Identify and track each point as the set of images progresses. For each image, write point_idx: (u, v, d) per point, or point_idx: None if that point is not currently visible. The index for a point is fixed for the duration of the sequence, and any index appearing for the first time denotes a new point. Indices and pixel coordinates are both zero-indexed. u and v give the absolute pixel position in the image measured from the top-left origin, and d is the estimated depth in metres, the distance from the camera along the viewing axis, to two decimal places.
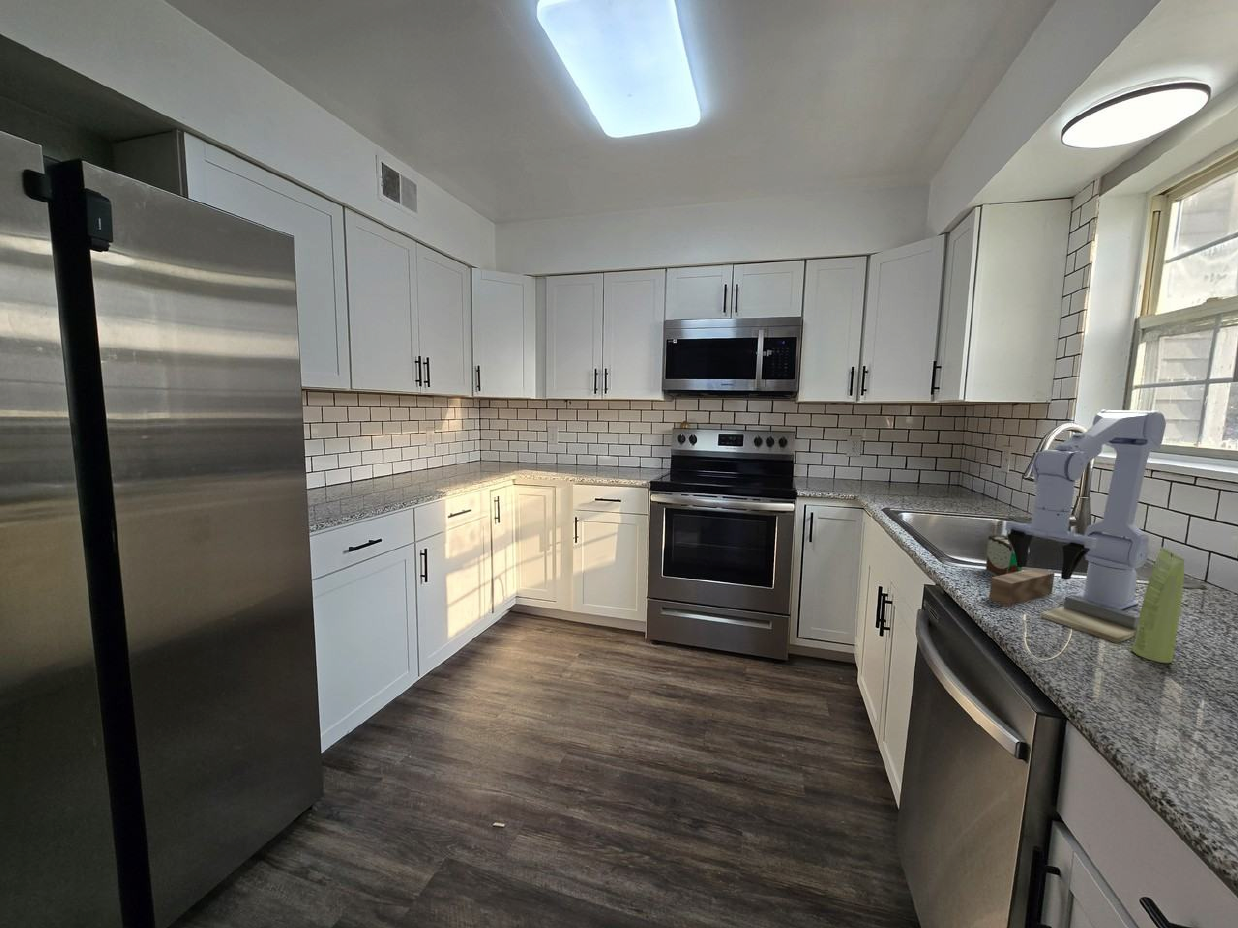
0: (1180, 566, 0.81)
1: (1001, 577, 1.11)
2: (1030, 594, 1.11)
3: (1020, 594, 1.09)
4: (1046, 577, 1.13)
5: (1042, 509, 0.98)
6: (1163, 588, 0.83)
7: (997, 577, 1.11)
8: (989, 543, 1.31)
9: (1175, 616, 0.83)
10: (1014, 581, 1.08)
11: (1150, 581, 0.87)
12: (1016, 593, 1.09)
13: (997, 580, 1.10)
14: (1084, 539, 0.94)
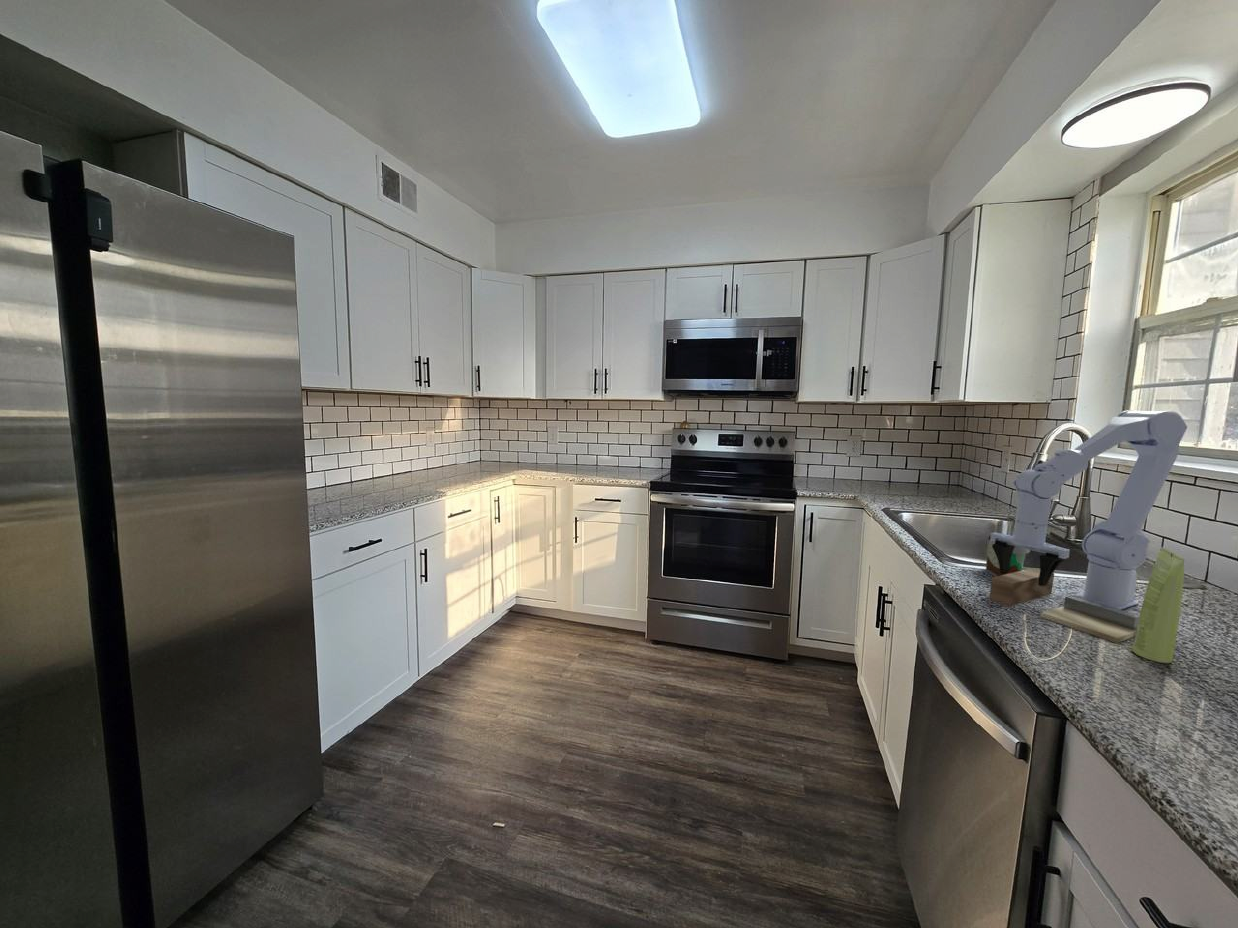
0: (1180, 566, 0.81)
1: (1001, 577, 1.11)
2: (1030, 594, 1.11)
3: (1020, 594, 1.09)
4: None
5: (1022, 523, 1.10)
6: (1163, 588, 0.83)
7: (997, 577, 1.11)
8: (989, 543, 1.31)
9: (1175, 616, 0.83)
10: (1014, 581, 1.08)
11: (1150, 581, 0.87)
12: (1016, 593, 1.08)
13: (997, 580, 1.10)
14: (1058, 550, 1.06)
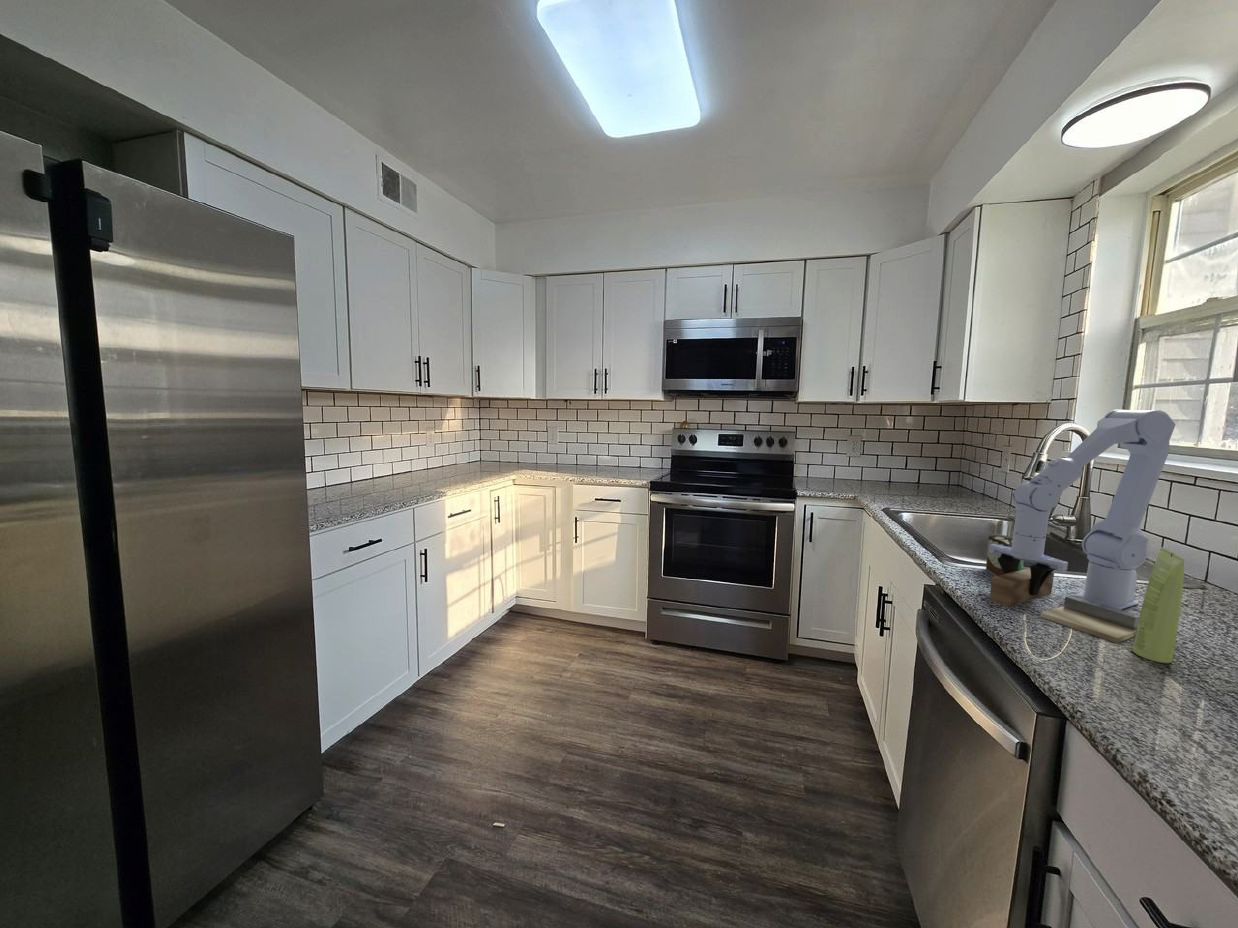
0: (1180, 566, 0.81)
1: (1002, 576, 1.11)
2: None
3: (1020, 593, 1.09)
4: None
5: (1020, 535, 1.11)
6: (1163, 588, 0.83)
7: (997, 577, 1.11)
8: (989, 543, 1.31)
9: (1175, 616, 0.83)
10: (1015, 580, 1.08)
11: (1150, 581, 0.87)
12: (1017, 592, 1.08)
13: (998, 579, 1.10)
14: (1056, 563, 1.06)
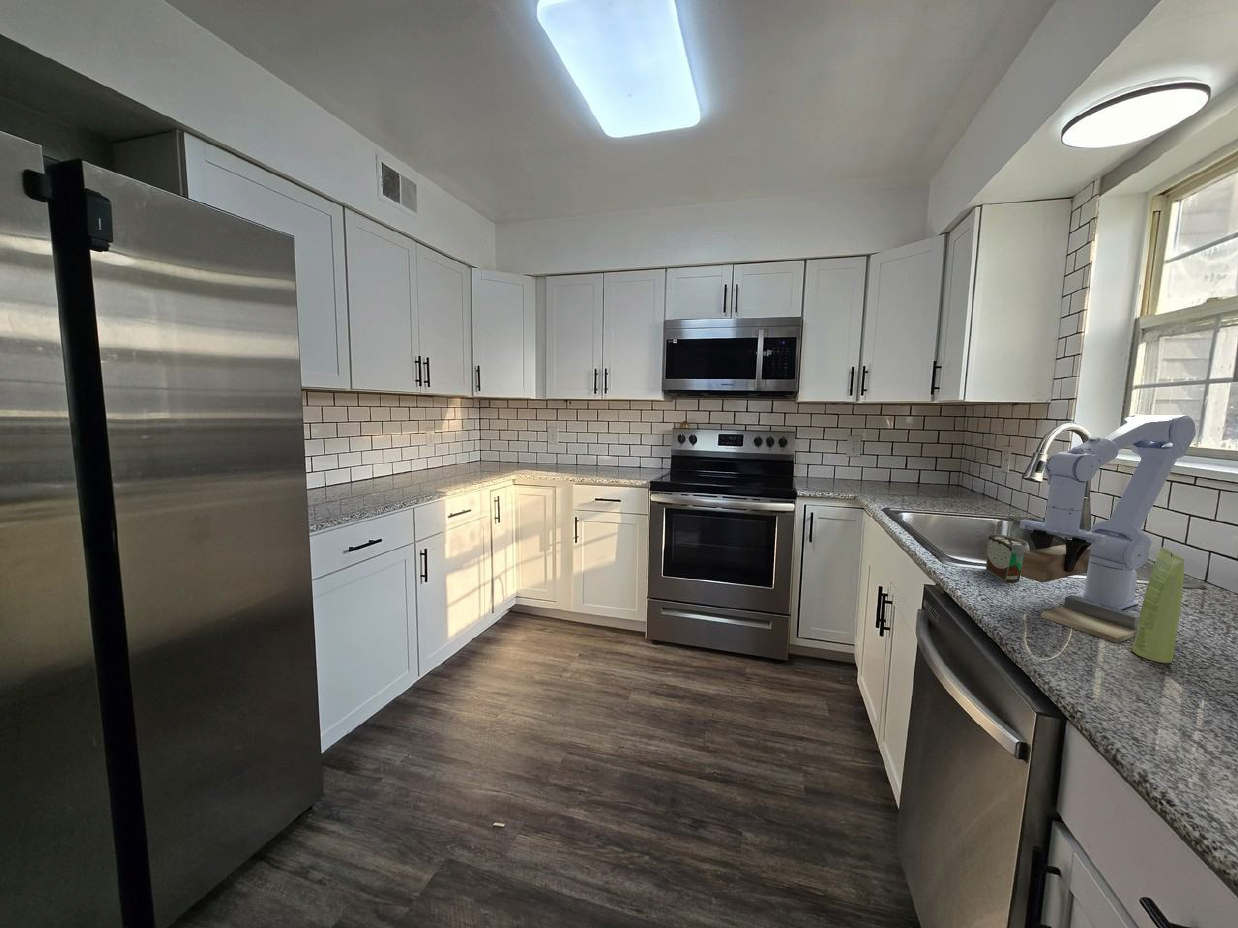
0: (1180, 566, 0.81)
1: (1034, 552, 1.05)
2: None
3: (1054, 569, 1.03)
4: None
5: (1055, 508, 1.05)
6: (1163, 588, 0.83)
7: (1029, 552, 1.05)
8: (989, 543, 1.31)
9: (1175, 616, 0.83)
10: (1048, 555, 1.03)
11: (1150, 581, 0.87)
12: (1051, 568, 1.03)
13: (1030, 554, 1.04)
14: (1095, 536, 1.00)
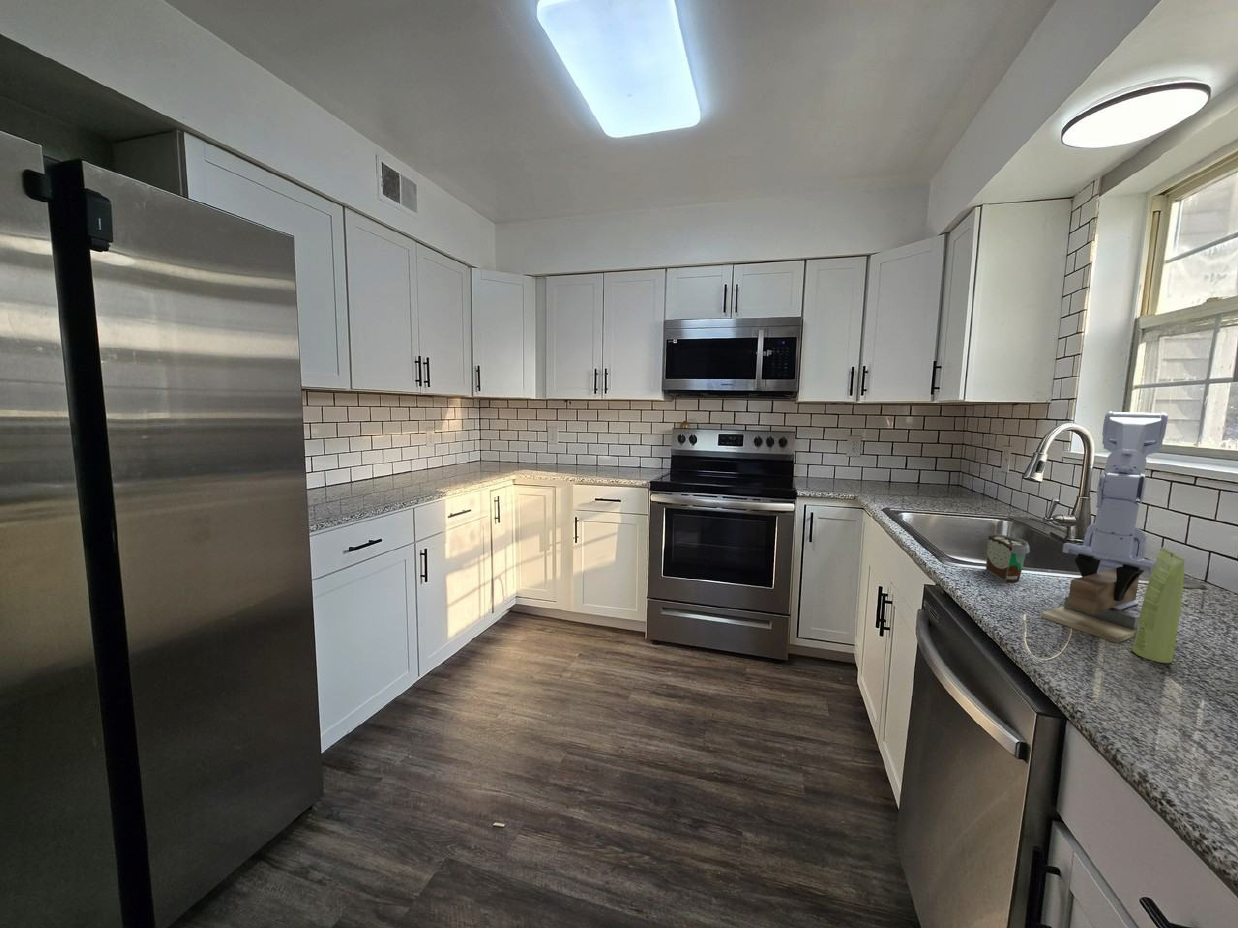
0: (1180, 566, 0.81)
1: (1082, 579, 0.98)
2: None
3: (1105, 598, 0.96)
4: None
5: (1104, 532, 0.97)
6: (1163, 588, 0.83)
7: (1077, 579, 0.97)
8: (989, 543, 1.31)
9: (1175, 616, 0.83)
10: (1099, 584, 0.95)
11: (1150, 581, 0.87)
12: (1101, 598, 0.95)
13: (1078, 583, 0.96)
14: (1149, 564, 0.93)
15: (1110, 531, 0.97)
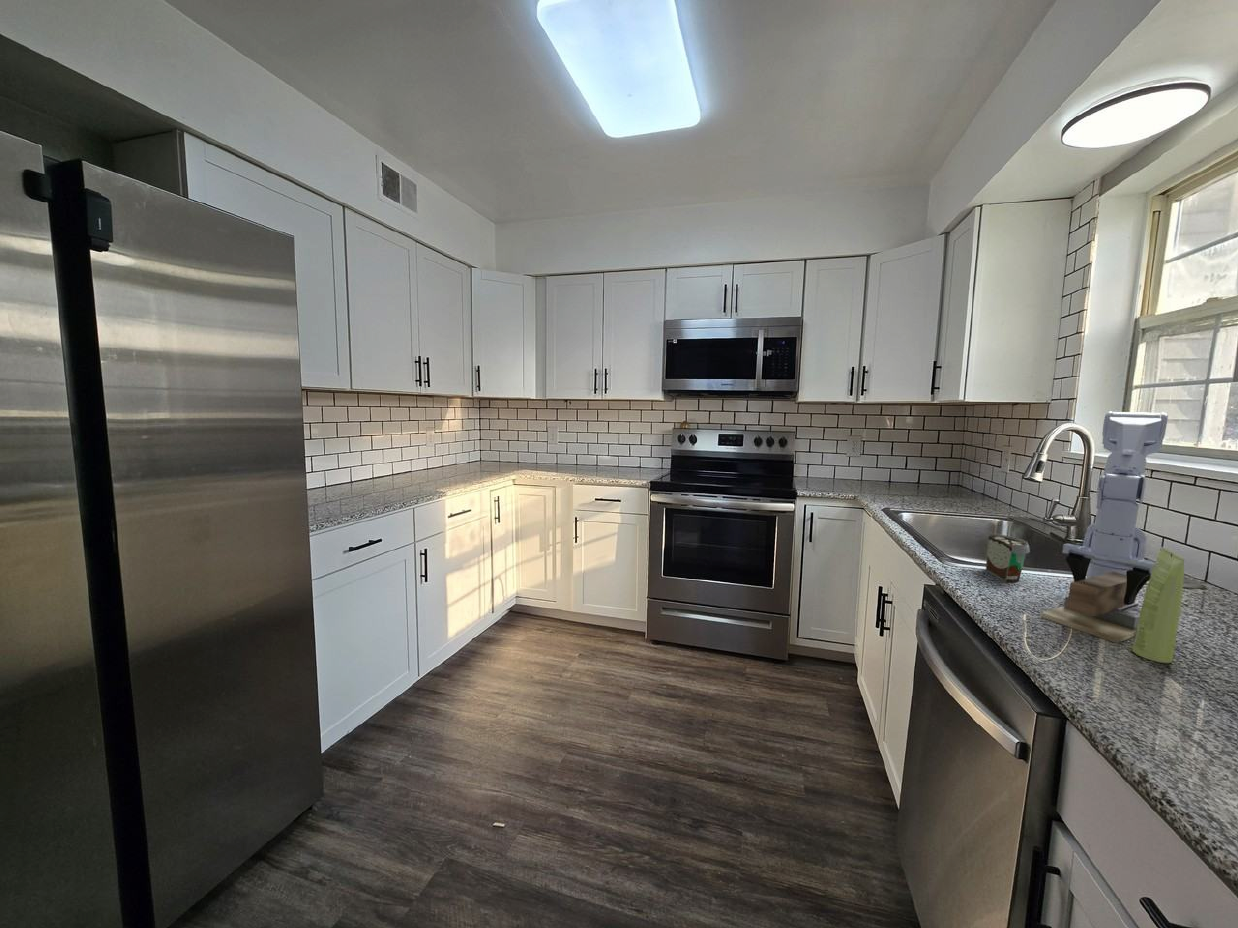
0: (1180, 566, 0.81)
1: (1081, 582, 0.98)
2: (1114, 602, 0.98)
3: (1104, 602, 0.96)
4: None
5: (1104, 533, 0.97)
6: (1163, 588, 0.83)
7: (1077, 583, 0.98)
8: (989, 543, 1.31)
9: (1175, 616, 0.83)
10: (1098, 587, 0.95)
11: (1150, 581, 0.87)
12: (1100, 601, 0.95)
13: (1078, 586, 0.97)
14: (1149, 565, 0.93)
15: (1110, 532, 0.97)
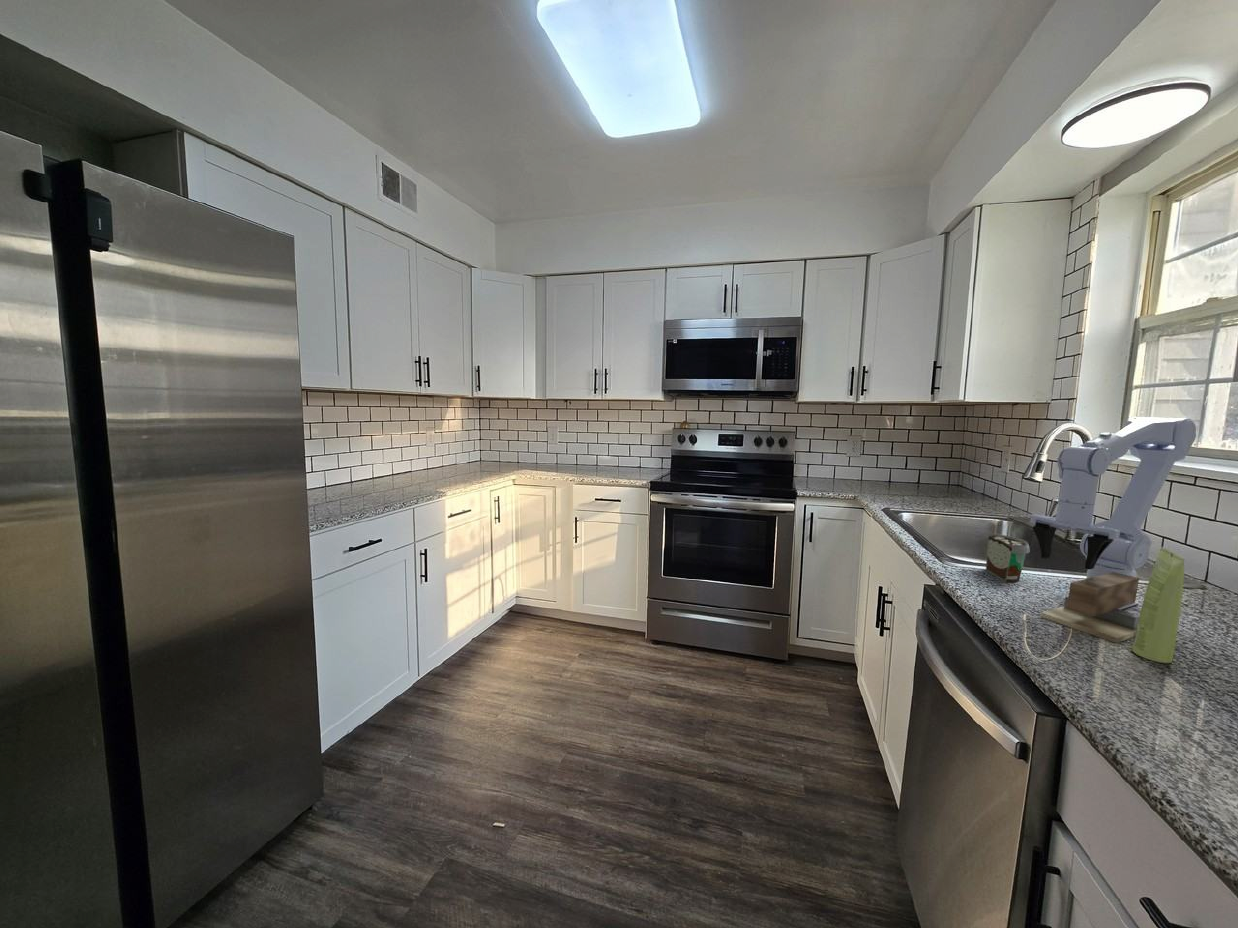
0: (1180, 566, 0.81)
1: (1081, 582, 0.98)
2: (1114, 602, 0.98)
3: (1104, 602, 0.96)
4: (1131, 583, 1.00)
5: (1067, 502, 1.03)
6: (1163, 588, 0.83)
7: (1077, 583, 0.98)
8: (989, 543, 1.31)
9: (1175, 616, 0.83)
10: (1098, 587, 0.95)
11: (1150, 581, 0.87)
12: (1100, 601, 0.95)
13: (1078, 586, 0.97)
14: (1108, 530, 0.99)
15: (1065, 499, 1.04)
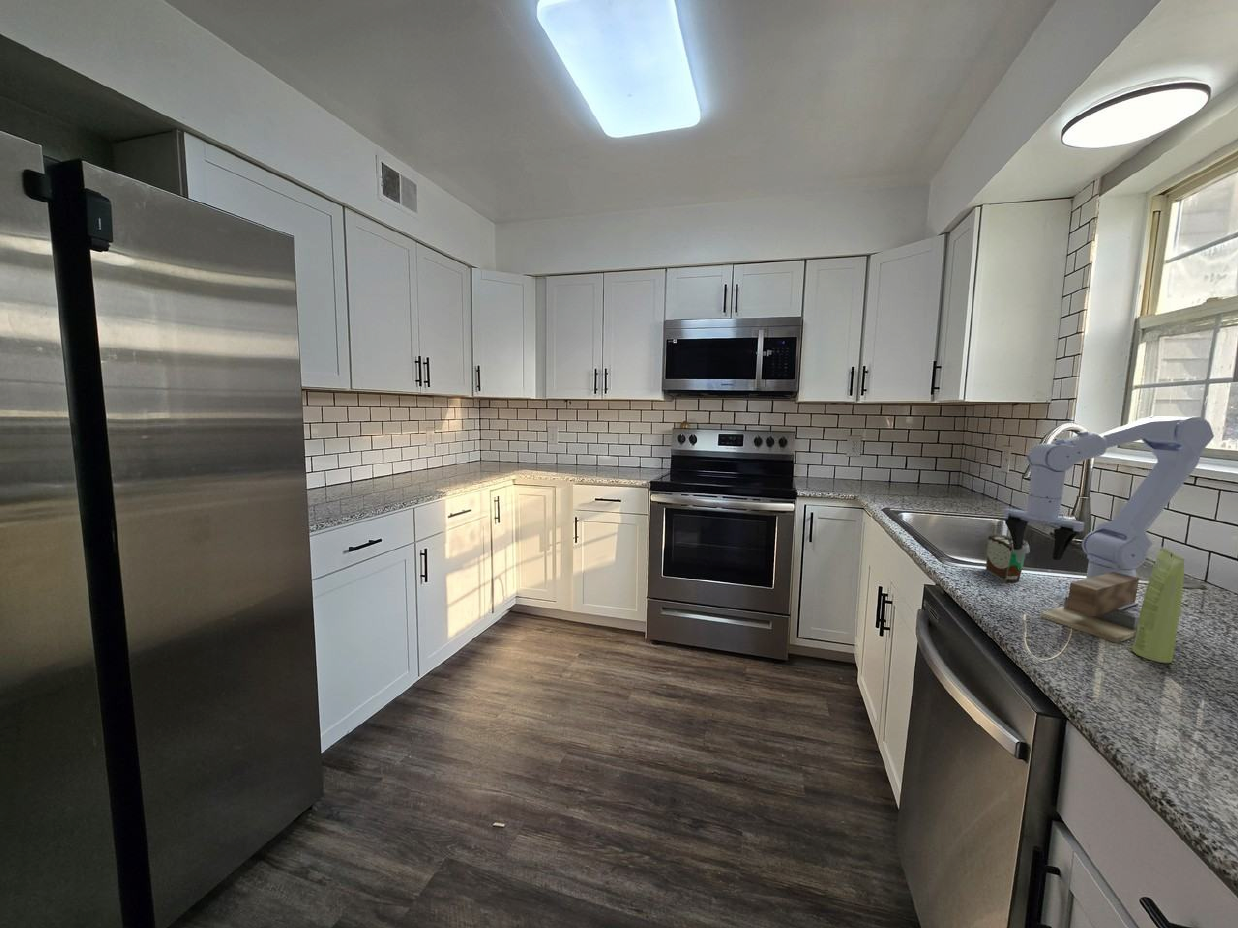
0: (1180, 566, 0.81)
1: (1081, 582, 0.98)
2: (1114, 602, 0.98)
3: (1104, 602, 0.96)
4: (1131, 583, 1.00)
5: (1036, 497, 1.09)
6: (1163, 588, 0.83)
7: (1077, 583, 0.98)
8: (989, 543, 1.31)
9: (1175, 616, 0.83)
10: (1098, 587, 0.95)
11: (1150, 581, 0.87)
12: (1100, 601, 0.95)
13: (1078, 586, 0.97)
14: (1073, 523, 1.05)
15: (1030, 493, 1.11)
